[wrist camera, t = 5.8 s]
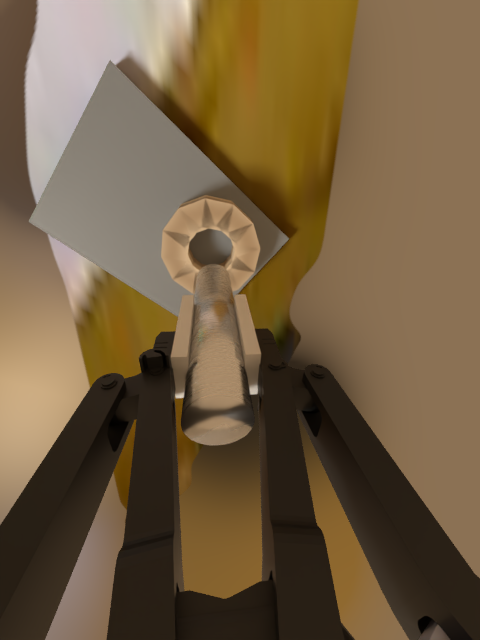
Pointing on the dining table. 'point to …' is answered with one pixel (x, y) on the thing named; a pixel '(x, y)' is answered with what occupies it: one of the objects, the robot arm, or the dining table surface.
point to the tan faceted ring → (200, 218)
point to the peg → (216, 366)
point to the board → (138, 192)
